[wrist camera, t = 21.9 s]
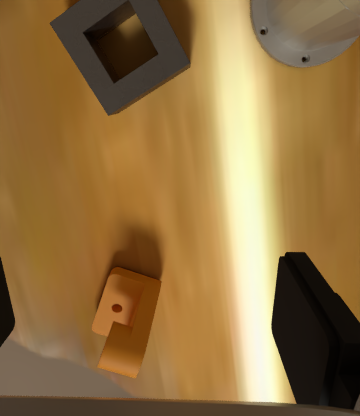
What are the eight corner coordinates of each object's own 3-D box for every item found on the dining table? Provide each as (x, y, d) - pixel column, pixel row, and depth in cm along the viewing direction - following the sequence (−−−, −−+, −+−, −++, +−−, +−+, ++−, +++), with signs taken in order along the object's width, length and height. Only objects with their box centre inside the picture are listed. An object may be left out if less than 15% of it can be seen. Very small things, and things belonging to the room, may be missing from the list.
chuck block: (143, -22, 33) (135, -42, 28) (190, 67, 36) (190, 63, 31) (68, 32, 35) (49, 23, 30) (118, 113, 38) (108, 115, 33)
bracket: (114, 262, 45) (89, 318, 34) (161, 277, 46) (152, 338, 34) (95, 319, 48) (67, 386, 37) (139, 332, 49) (125, 403, 38)
